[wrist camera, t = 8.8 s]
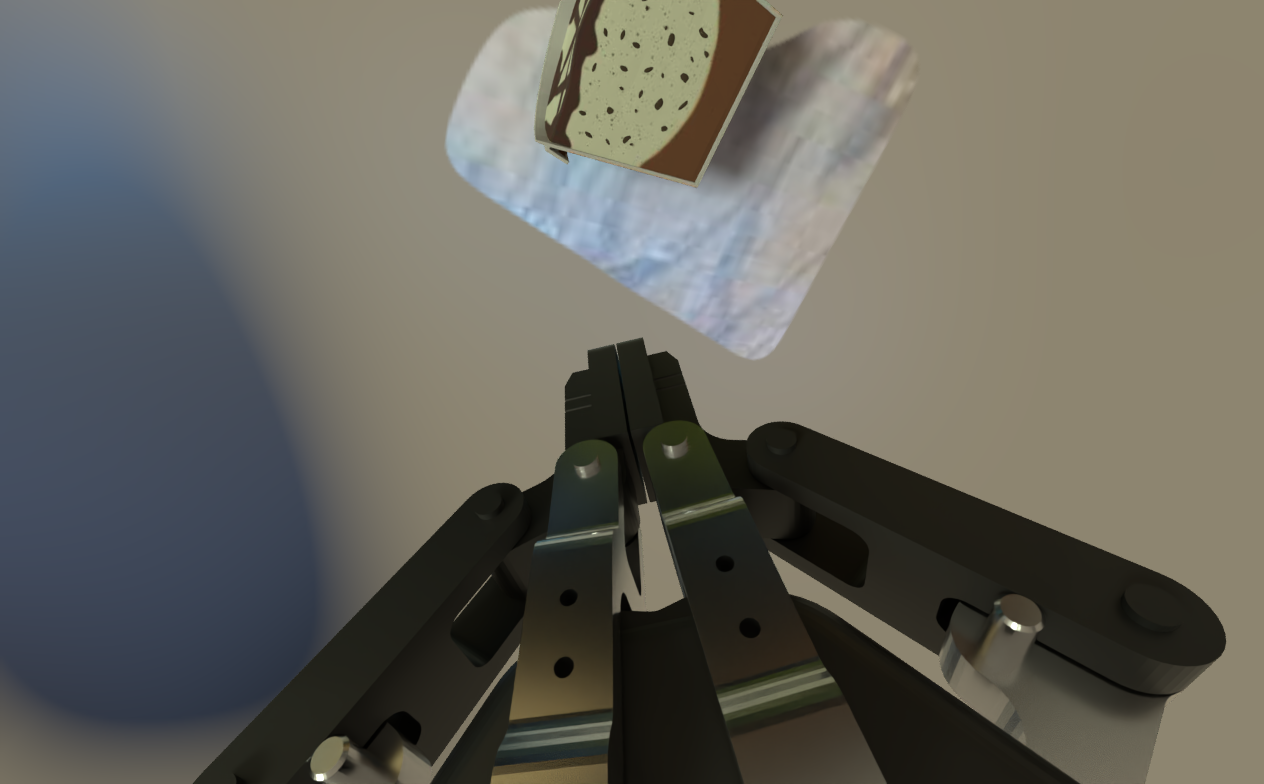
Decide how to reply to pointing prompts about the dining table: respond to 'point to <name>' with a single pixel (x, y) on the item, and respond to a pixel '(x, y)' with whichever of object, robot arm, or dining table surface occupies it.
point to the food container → (649, 80)
